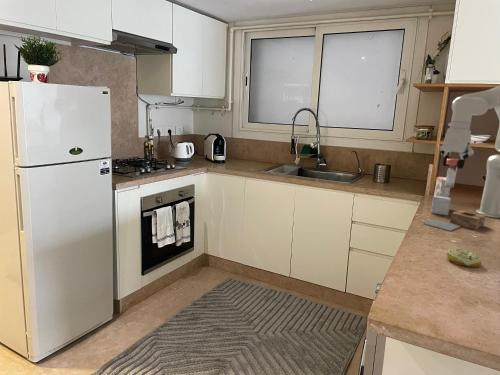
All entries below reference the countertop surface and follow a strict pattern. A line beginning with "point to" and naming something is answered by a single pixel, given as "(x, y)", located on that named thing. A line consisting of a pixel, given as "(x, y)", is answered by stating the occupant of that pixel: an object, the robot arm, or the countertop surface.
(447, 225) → the rubber mat
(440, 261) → the countertop surface
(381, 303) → the countertop surface
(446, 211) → the medicine box
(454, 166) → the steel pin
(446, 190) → the candy bar box
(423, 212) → the countertop surface
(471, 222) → the eye block
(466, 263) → the decorated donut
